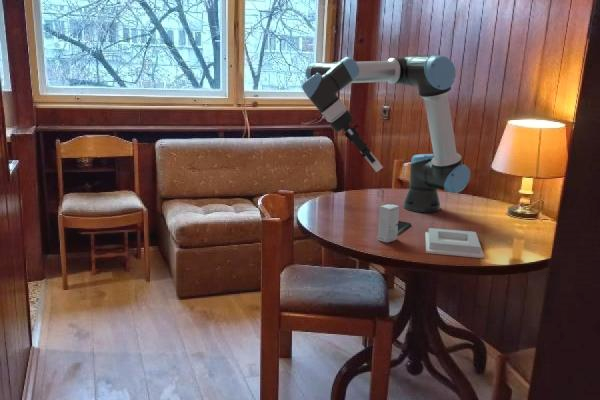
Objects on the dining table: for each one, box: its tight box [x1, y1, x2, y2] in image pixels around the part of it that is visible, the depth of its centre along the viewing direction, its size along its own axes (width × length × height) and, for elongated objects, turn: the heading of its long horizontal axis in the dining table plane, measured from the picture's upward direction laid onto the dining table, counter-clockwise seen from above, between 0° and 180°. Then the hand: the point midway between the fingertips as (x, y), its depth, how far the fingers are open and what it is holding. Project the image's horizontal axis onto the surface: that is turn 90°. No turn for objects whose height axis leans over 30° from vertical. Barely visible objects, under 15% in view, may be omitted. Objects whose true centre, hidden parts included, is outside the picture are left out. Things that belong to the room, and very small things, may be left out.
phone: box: [397, 220, 412, 236], centre depth 199 cm, size 8×1×15 cm
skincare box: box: [377, 203, 400, 243], centre depth 184 cm, size 6×4×12 cm
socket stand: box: [424, 227, 485, 259], centre depth 181 cm, size 20×18×3 cm
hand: (377, 166), depth 178 cm, fingers open, 13 cm apart
